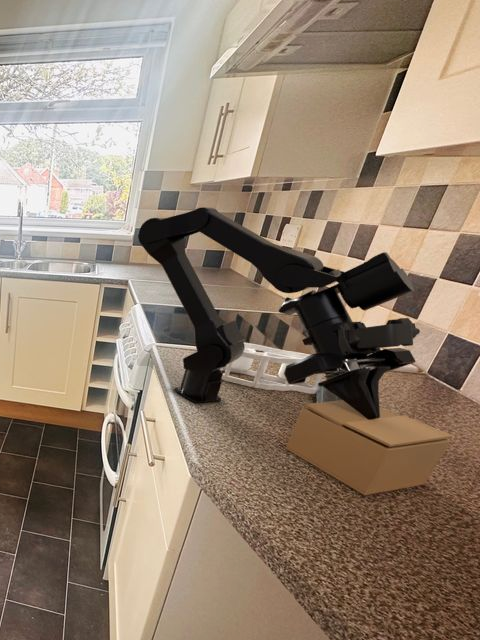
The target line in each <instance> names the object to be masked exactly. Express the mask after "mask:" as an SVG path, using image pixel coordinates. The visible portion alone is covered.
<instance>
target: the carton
mask: <svg viewBox="0 0 480 640" xmlns="http://www.w3.org/2000/svg"><path fill="white" fill-rule="evenodd" d="M344 425H345V426H342V427H341V426H339V425H337V424H336V423H334V422H332V421H330V420H328V419H327V418H325V417H323V416H321V415H319V414H317V413H316V412H314V411H312V410H310V409H308V408H307V407H302V408H301V411H300V413H299V415H298V418H297V420H296V422H295V424H294V427H293V429H292V432H291V434H290V436H289V439H288V441H287V443H286V446H285V449H286V451H289V452H291V453H292V454H294V455H295V456H298V457H299V458H300V459H302V460H304V461H306V462H307V463H309V464H311V465H312V466H314V467H316V468H317V469H319V470H321V471H323V472H324V473H325V474H328V475H329V476H331V477H333V478H334V479H336V480H338V481H339V482H341V483H343V484H344V485H346V486H348V487H349V488H351V489H353V490H354V491H356V492H357V493H359V494H361V495H363V496H369V495H374V494H379V493H386V492H390V491H397V490H400V489H401V490H402V489H408V488H412V487H418V486H424V485H426V483H427V482H428V480H429V479H430V476H431V475H432V474H433V472H434V471H435V468H436V466H437V465H438V463H439V462H440V460H441V459H442V457H443V455H444V453H445V452H446V450H447V448H448V447H449V446H450V444H451V442H452V440H450V439H452V438H453V437H454V435H453V434H450V433H448V432H445V431H442V430H440V429H438V428H436V427H433V426H431V425H428V424H426V423H423V422H421V421H419V420H416V419H413V418H411V417H409V416H406V415H398V416H397V417H389V418H381V419H372V420H364V421H356V422H348V423H345V424H344Z"/></svg>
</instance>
